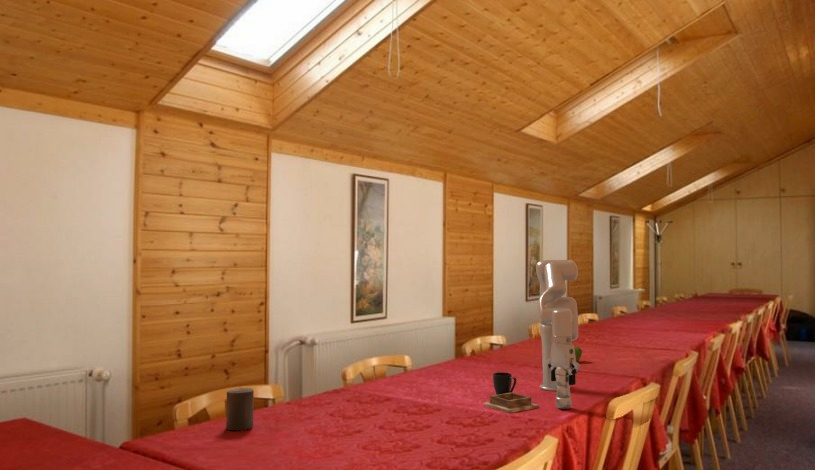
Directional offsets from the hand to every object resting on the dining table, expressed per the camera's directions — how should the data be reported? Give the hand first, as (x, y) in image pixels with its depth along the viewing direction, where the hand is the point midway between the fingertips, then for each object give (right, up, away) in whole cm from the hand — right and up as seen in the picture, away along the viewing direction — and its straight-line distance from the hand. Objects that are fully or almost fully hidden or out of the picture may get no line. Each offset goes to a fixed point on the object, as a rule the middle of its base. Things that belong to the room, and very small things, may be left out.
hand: (563, 382), depth 251 cm
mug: (-19, -12, +24) cm, 33 cm away
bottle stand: (-21, -11, +5) cm, 24 cm away
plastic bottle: (0, -11, 0) cm, 10 cm away
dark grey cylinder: (-125, -11, -23) cm, 127 cm away
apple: (+34, -15, +111) cm, 117 cm away
